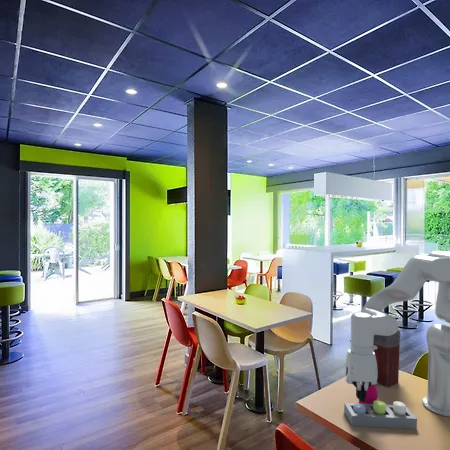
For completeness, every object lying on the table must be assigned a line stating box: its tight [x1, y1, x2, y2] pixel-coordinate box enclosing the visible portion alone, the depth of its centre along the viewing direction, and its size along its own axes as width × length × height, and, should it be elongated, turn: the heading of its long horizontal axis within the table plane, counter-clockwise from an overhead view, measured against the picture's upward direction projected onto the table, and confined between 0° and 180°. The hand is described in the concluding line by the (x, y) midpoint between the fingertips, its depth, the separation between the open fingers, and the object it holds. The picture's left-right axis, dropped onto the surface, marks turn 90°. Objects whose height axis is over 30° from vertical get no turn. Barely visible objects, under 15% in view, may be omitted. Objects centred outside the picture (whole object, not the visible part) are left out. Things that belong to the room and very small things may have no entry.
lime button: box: [373, 399, 387, 415], centre depth 117 cm, size 4×4×4 cm
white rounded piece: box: [392, 400, 407, 416], centre depth 116 cm, size 4×4×4 cm
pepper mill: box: [358, 382, 379, 404], centre depth 127 cm, size 7×7×20 cm
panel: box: [343, 402, 418, 430], centre depth 117 cm, size 22×8×4 cm, turn 88°
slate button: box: [353, 403, 366, 414], centre depth 117 cm, size 4×4×4 cm
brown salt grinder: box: [373, 329, 401, 388], centre depth 147 cm, size 9×11×28 cm
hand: (361, 399), depth 117 cm, fingers closed
